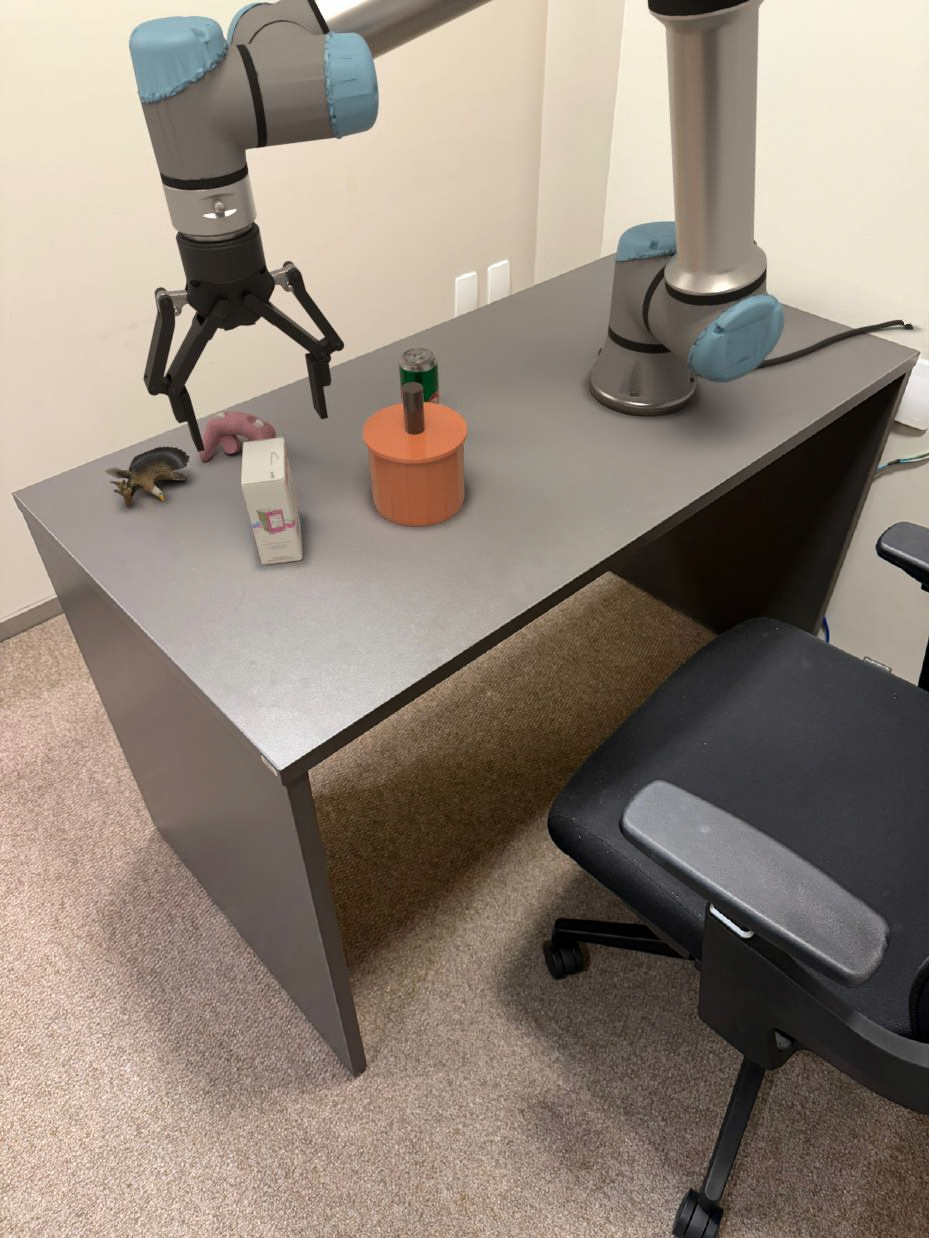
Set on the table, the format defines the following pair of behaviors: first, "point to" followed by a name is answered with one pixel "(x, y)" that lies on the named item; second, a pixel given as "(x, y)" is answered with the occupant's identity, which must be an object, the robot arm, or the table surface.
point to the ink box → (271, 500)
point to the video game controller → (233, 432)
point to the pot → (418, 489)
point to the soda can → (420, 372)
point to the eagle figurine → (149, 471)
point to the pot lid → (414, 429)
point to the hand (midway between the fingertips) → (261, 428)
